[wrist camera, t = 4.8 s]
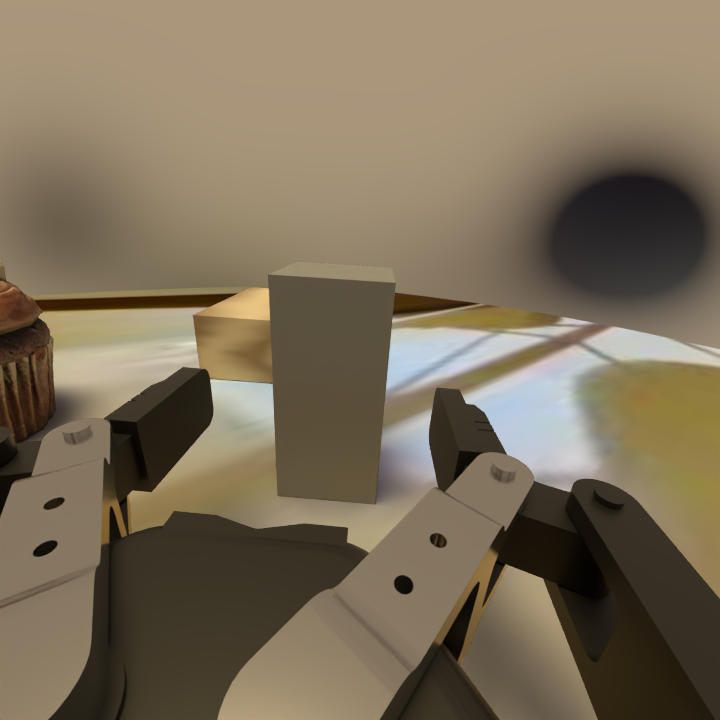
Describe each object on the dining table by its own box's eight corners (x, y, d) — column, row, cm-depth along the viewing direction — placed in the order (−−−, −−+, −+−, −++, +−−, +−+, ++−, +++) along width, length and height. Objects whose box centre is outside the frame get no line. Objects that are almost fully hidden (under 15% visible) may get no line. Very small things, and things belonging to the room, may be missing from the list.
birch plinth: (200, 377, 27) (192, 315, 25) (254, 332, 38) (251, 287, 36) (354, 389, 26) (357, 326, 24) (362, 340, 37) (365, 294, 36)
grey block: (277, 495, 16) (268, 274, 12) (299, 438, 20) (297, 261, 16) (375, 504, 16) (395, 282, 12) (376, 445, 20) (392, 268, 16)
